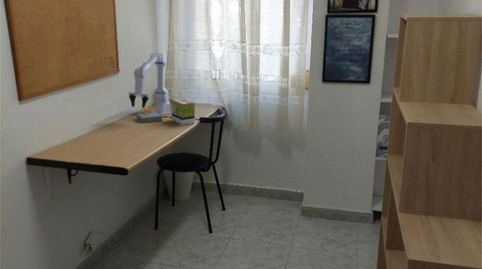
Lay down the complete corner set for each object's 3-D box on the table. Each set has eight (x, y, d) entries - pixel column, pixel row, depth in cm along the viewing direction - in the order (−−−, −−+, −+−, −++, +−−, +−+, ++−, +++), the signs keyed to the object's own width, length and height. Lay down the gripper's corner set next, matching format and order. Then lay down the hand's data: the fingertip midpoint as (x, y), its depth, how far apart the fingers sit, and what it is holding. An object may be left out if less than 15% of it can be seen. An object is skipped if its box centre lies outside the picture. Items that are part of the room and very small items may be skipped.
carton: (156, 117, 318) (156, 113, 317) (162, 121, 308) (162, 116, 307) (136, 119, 311) (136, 114, 310) (142, 123, 301) (142, 118, 300)
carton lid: (156, 113, 317) (156, 107, 316) (162, 116, 307) (162, 110, 306) (136, 114, 310) (136, 109, 309) (142, 118, 300) (142, 112, 299)
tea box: (171, 120, 311) (171, 99, 307) (183, 118, 317) (183, 98, 313) (182, 125, 299) (182, 103, 295) (195, 123, 305) (195, 102, 301)
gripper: (126, 85, 296) (125, 106, 297) (146, 87, 292) (144, 108, 293) (132, 85, 303) (131, 105, 304) (151, 87, 299) (150, 108, 300)
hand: (138, 107), depth 299 cm, fingers open, 7 cm apart
